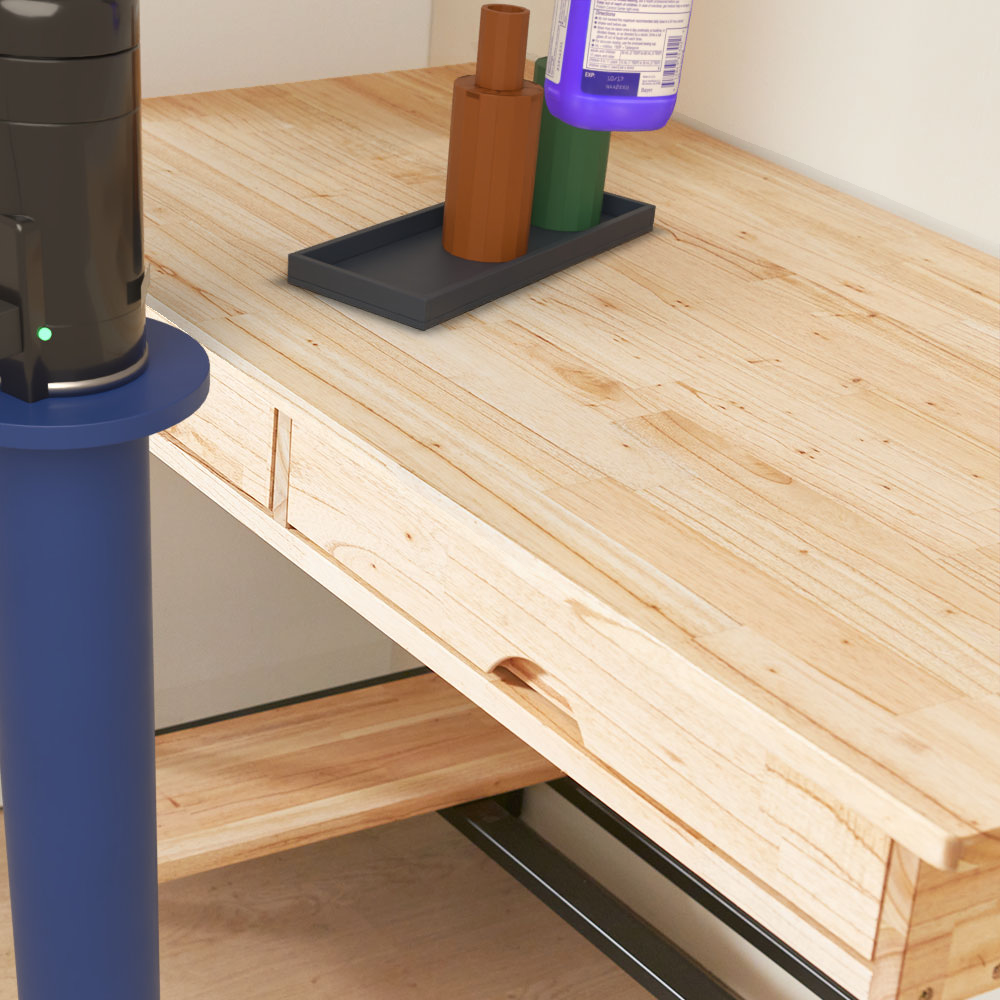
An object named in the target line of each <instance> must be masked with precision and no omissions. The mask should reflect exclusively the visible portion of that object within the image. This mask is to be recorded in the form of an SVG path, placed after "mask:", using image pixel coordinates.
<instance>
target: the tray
mask: <svg viewBox="0 0 1000 1000" xmlns="http://www.w3.org/2000/svg"><path fill="white" fill-rule="evenodd" d="M444 205H445V200H444V201H442V202H438V203H435V204H432V205H429V206H427V207H424V208H420V209H417V210H415V211H412V212H409V213H406V214H403V215H399V216H397V217H394V218H391V219H388V220H384V221H382V222H379V223H377V224H373V225H370V226H367V227H364V228H362V229H361V228H360V229H359V230H356V231H353V232H349V233H347V234H343V235H341V236H337V237H335V238H332V239H329V240H326V241H322V242H321V243H317V244H314V245H311V246H308V247H305V248H302V249H299V250H296V251H294V252H290V253H288V254H287V280H286V281H287V284H289V285H293V286H295V287H299V288H300V289H301V288H302V289H305V290H307V291H310V292H313V293H315V294H318V295H321V296H324V297H327V298H329V299H333V300H335V301H339V302H341V303H344V304H346V305H349V306H353V307H355V308H358V309H361V310H364V311H366V312H369V313H372V314H375V315H378V316H381V317H383V318H387V319H389V320H392V321H395V322H398V323H400V324H403V325H406V326H408V327H411V328H415V329H418V330H419V331H426V330H428V329H430V328H432V327H435V326H436V325H439V324H441V323H444V322H447V321H449V320H451V319H454V318H455V317H458V316H460V315H462V314H464V313H467V312H469V311H472V310H474V309H476V308H478V307H481V306H483V305H485V304H487V303H490V302H492V301H494V300H497V299H499V298H501V297H503V296H506V295H508V294H510V293H513V292H515V291H518V290H520V289H521V288H525V287H526V286H529V285H531V284H533V283H536V282H538V281H540V280H543V279H545V278H548V277H549V276H552V275H554V274H556V273H558V272H561V271H563V270H566V269H567V268H570V267H572V266H574V265H577V264H579V263H581V262H584V261H586V260H589V259H591V258H593V257H595V256H597V255H599V254H602V253H605V252H607V251H609V250H611V249H613V248H616V247H618V246H621V245H622V244H625V243H627V242H630V241H632V240H634V239H637V238H639V237H641V236H643V235H645V234H648V233H650V232H652V231H653V230H654V224H655V223H654V222H655V215H656V209H657V205H655V204H652V203H648V202H645V201H641V200H637V199H634V198H631V197H628V196H624V195H620V194H616V193H613V192H609V191H606V190H604V194H603V202H602V210H601V218H600V223H599V225H597V226H594V227H592V228H589V229H587V230H584V231H579V232H565V231H555V230H549V229H544V228H540V227H537V226H534V225H531V224H530V231H529V241H528V251H527V253H526V255H523V256H521V257H518V258H516V259H513V260H511V261H509V262H502V263H492V262H478V261H472V260H466V259H463V258H460V257H457V256H454V255H452V254H450V253H449V252H447V251H445V250H444V248H443V246H442V232H443V219H444Z"/></svg>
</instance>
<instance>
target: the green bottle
mask: <svg viewBox="0 0 1000 1000" xmlns="http://www.w3.org/2000/svg"><path fill="white" fill-rule="evenodd" d="M547 57H548V55H546V56H542V57H538V58H537V59H535V61H534V68H533V78H532V82H535V83H537V84H539V85H541V86H542V88H543V89H544V83H545V73H546V65H547ZM611 137H612V131H594V130H586V129H580V128H577V127H574V126H571V125H569V124H567V123H565V122H563V121H561V120H560V119H558V118H556V117H555V116H553V115H552V114H551V113H550V111H549V109H548V107H547V104H546V100H545V93H544V95H543V105H542V114H541V124H540V134H539V144H538V153H537V163H536V173H535V183H534V192H533V202H532V212H531V222H530V224H531V225H534V226H537V227H540V228H544V229H549V230H555V231H565V232H579V231H584V230H587V229H589V228H592V227H594V226H597V225H599V223H600V218H601V210H602V202H603V194H604V191H605V185H606V177H607V170H608V161H609V153H610V146H611Z"/></svg>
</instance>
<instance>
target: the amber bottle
mask: <svg viewBox="0 0 1000 1000" xmlns="http://www.w3.org/2000/svg"><path fill="white" fill-rule="evenodd" d="M530 18H531V10H530V9H529V8H526V7H524V6H519V5H515V4H508V3H507V4H506V3H486V4H482V5H481V7H480V17H479V26H478V27H479V28H478V40H477V41H478V42H477V54H476V67H475V74H466V75H462V76H458V77H456V79H455V80H453V88H452V99H451V100H452V101H451V103H452V104H451V112H450V113H451V114H450V127H449V140H448V155H447V166H446V180H445V181H446V182H445V194H444V201H445V205H444V219H443V232H442V246H443V248H444V250H445V251H447V252H449V253H450V254H452V255H454V256H457V257H460V258H463V259H466V260H472V261H478V262H492V263H502V262H509V261H511V260H513V259H516V258H518V257H521V256H523V255H526V253H527V251H528V241H529V231H530V222H531V212H532V202H533V192H534V183H535V173H536V163H537V153H538V144H539V134H540V124H541V114H542V105H543V95H544V89H543V88H542V86H541V85H539V84H537V83H535V82H533V80H529V79H525V70H526V69H525V68H526V58H527V49H528V38H529V27H530Z"/></svg>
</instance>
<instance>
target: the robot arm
mask: <svg viewBox="0 0 1000 1000" xmlns="http://www.w3.org/2000/svg"><path fill="white" fill-rule="evenodd" d="M140 3H141V2H140V0H0V391H2V392H4V393H6V394H9V395H11V396H13V397H15V398H18V399H20V400H22V401H24V402H27V403H35V402H38V401H40V400H43V399H47V398H54V397H72V396H82V395H89V394H95V393H100V392H104V391H108V390H112V389H115V388H118V387H121V386H123V385H125V384H128V383H129V382H131V381H133V380H135V379H136V378H138V377H139V376H140V375H141V374H142V373H143V372H144V371H145V370H146V368H147V366H148V361H149V359H148V344H147V341H146V317H147V315H146V312H147V311H146V297H147V294H148V291H149V288H150V286H151V261H149V262H148V266H147V268H146V267H145V266H146V263H145V262H146V261H145V218H144V217H145V216H144V215H145V214H144V211H145V210H144V170H143V169H144V168H143V163H144V161H143V119H142V117H143V115H142V112H143V111H142V100H143V99H142V58H141V56H142V55H141V42H140V41H141V10H140V9H141V4H140ZM145 268H146V269H145Z"/></svg>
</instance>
